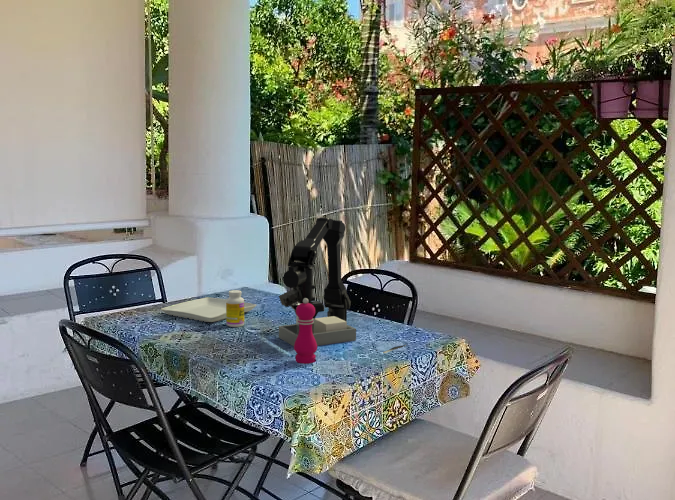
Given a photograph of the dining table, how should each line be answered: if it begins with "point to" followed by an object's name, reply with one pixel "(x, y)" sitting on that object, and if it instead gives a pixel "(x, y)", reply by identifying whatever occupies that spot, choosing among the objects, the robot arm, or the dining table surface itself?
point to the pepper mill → (305, 334)
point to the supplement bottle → (235, 309)
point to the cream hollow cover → (329, 324)
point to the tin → (297, 325)
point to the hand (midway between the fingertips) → (304, 327)
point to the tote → (318, 335)
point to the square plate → (203, 309)
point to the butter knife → (393, 348)
